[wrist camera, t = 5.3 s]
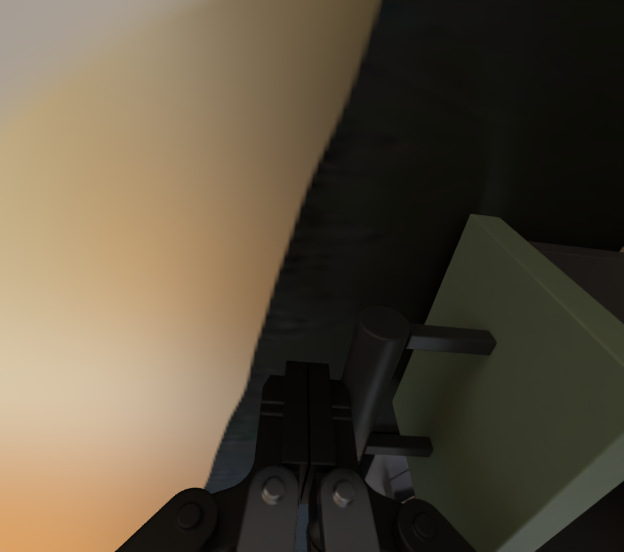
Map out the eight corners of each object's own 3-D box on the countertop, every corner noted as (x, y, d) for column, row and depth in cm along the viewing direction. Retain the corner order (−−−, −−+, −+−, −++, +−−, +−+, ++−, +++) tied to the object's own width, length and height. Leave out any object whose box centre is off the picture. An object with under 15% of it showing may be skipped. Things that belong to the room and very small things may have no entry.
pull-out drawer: (313, 396, 19) (319, 599, 12) (356, 199, 13) (419, 383, 6) (611, 417, 20) (769, 606, 13) (779, 251, 14) (1235, 444, 7)
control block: (348, 491, 27) (353, 537, 24) (372, 431, 22) (381, 479, 20) (470, 496, 27) (487, 541, 25) (516, 440, 23) (542, 488, 21)
